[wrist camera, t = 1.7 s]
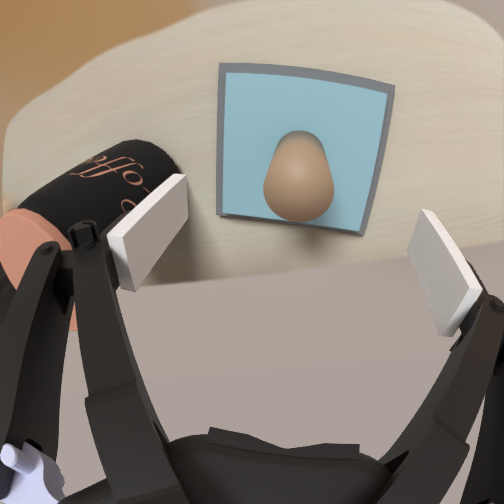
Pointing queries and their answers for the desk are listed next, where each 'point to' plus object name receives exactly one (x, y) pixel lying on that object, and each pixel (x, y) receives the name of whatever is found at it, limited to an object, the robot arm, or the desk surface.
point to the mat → (308, 74)
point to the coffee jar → (82, 202)
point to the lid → (299, 148)
